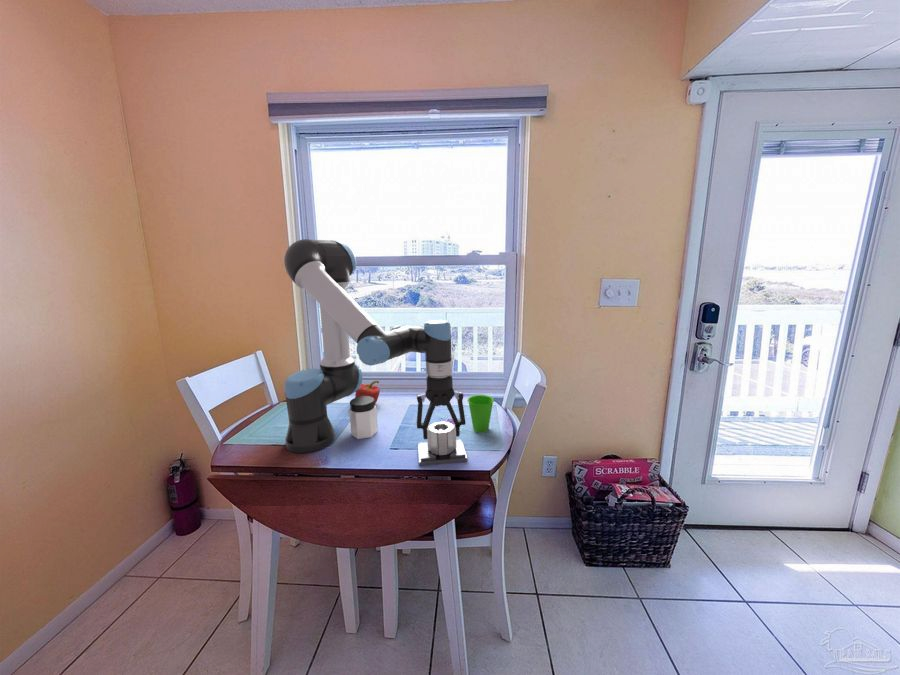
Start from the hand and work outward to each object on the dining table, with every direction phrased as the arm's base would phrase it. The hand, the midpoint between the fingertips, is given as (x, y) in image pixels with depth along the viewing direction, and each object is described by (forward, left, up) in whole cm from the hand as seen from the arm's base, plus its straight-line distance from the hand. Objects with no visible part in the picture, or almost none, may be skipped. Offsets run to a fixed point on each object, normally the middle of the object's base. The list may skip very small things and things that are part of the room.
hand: (441, 447), depth 104 cm
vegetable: (-26, +42, -3) cm, 50 cm away
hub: (0, 0, 0) cm, 1 cm away
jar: (-25, +18, -3) cm, 31 cm away
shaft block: (0, 0, -3) cm, 3 cm away
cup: (+15, +14, -3) cm, 21 cm away
